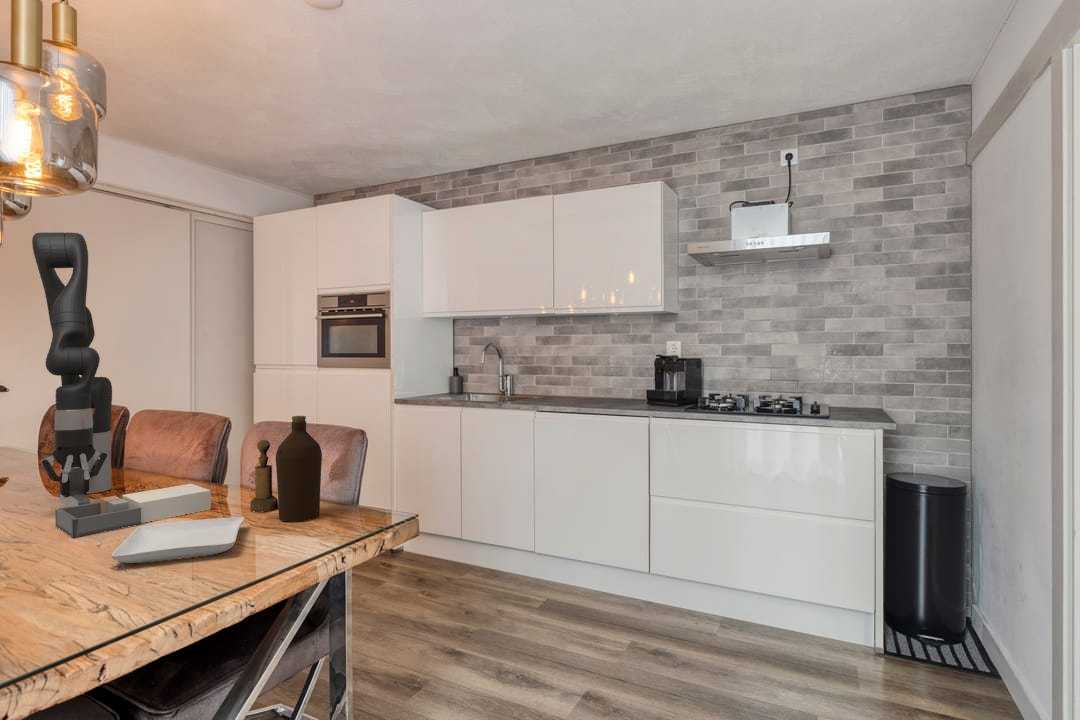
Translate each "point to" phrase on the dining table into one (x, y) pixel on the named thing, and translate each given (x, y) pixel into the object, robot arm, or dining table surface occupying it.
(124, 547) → the salad plate
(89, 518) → the box
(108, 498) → the tan block
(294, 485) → the olive oil
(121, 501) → the pale grey box
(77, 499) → the scraper
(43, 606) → the dining table surface
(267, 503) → the brown chess piece
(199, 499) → the long rectangular box
